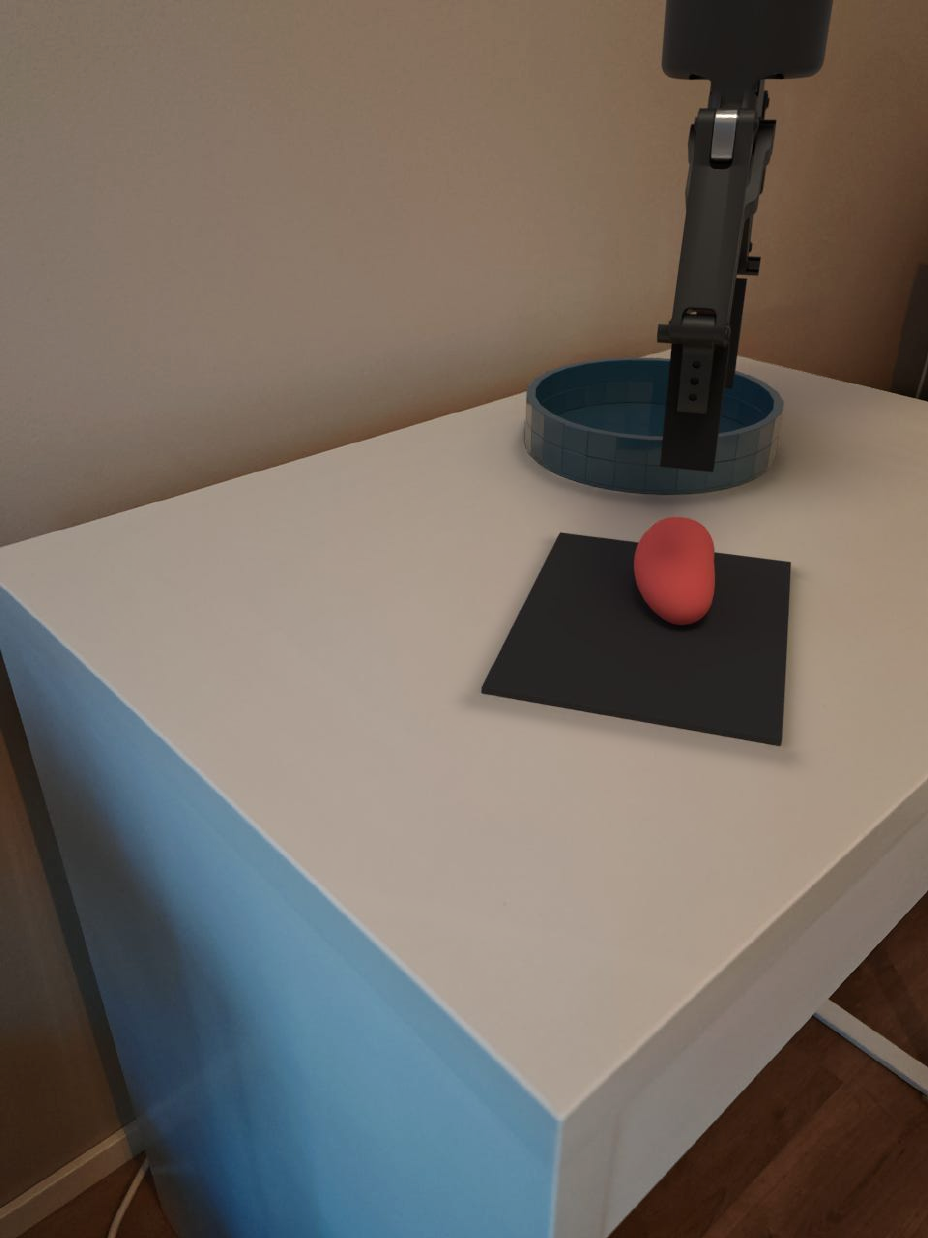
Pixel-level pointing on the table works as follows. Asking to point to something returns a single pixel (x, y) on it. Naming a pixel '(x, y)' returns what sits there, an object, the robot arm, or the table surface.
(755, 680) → the mat
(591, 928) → the table surface
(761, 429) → the bowl
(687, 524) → the stress ball
